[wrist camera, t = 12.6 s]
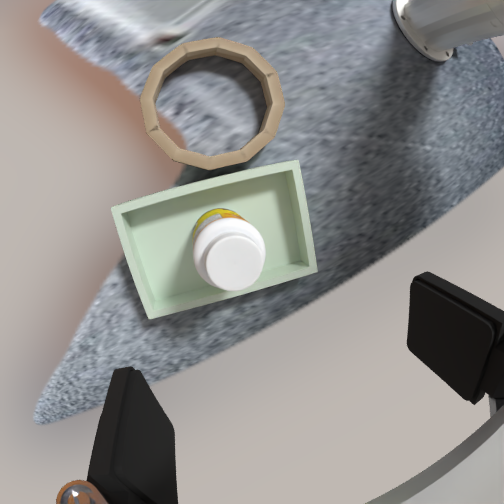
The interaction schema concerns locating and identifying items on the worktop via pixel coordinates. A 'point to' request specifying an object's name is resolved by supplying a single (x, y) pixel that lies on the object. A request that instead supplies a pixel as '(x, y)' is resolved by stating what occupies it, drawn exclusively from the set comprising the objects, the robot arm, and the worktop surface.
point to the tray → (182, 224)
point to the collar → (225, 50)
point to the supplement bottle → (227, 250)
